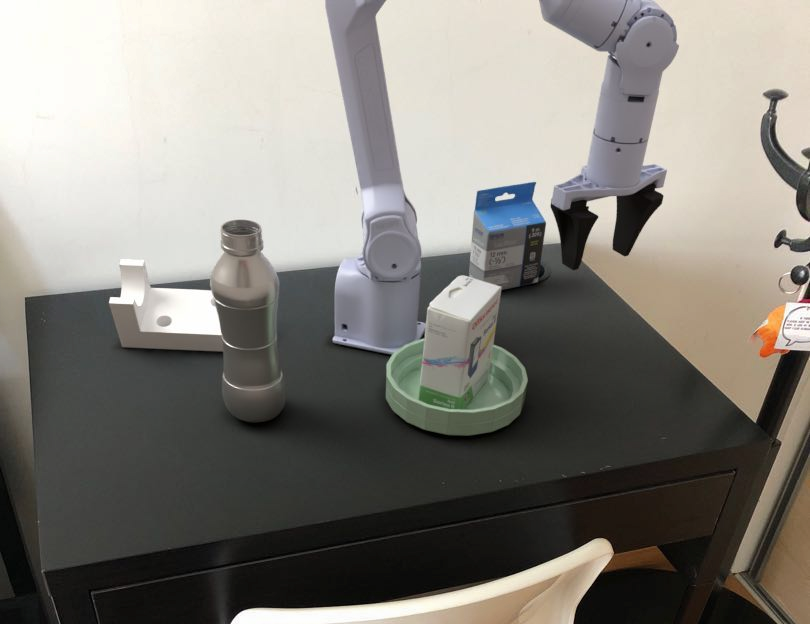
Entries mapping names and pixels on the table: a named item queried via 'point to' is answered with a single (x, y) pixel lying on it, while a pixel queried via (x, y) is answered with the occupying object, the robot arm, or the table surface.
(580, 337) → the table surface
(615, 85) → the robot arm
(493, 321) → the ink box
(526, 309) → the table surface
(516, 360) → the bowl
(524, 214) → the label tape box
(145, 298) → the bracket
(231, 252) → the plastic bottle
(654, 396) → the table surface
